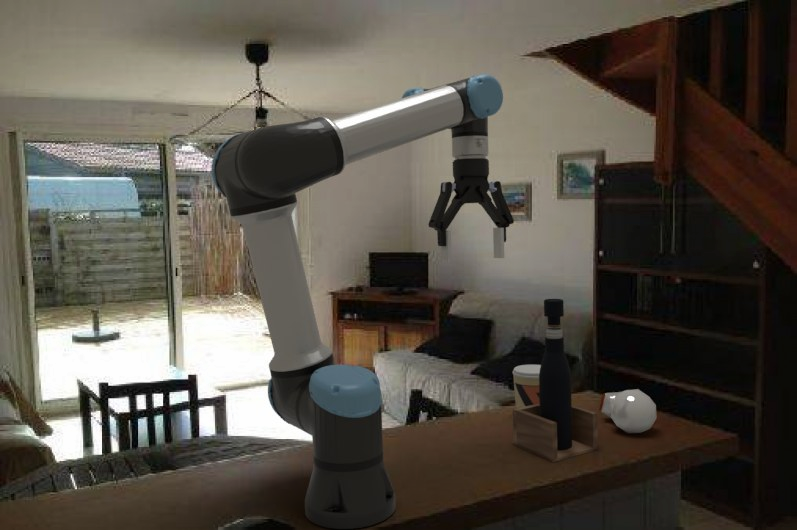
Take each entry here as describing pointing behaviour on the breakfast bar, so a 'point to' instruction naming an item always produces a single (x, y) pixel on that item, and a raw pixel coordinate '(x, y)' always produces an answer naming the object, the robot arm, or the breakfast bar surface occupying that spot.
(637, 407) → the potion bottle
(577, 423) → the u rest
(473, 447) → the breakfast bar surface
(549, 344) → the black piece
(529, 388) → the coffee cup
